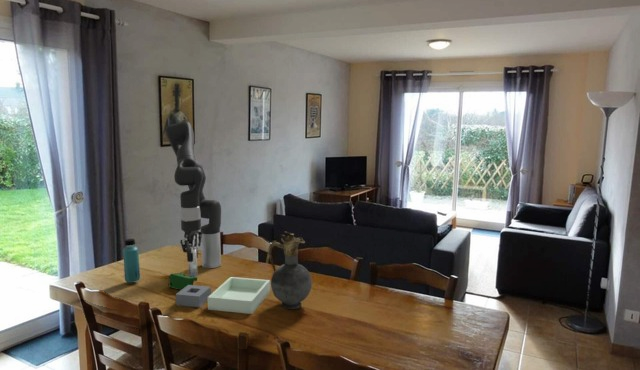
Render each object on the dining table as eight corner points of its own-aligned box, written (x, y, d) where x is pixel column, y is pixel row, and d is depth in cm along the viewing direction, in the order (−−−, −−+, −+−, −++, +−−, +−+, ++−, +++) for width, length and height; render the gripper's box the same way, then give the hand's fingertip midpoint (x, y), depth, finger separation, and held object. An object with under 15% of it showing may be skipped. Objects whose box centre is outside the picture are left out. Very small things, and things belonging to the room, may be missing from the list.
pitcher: (299, 315, 162) (299, 238, 157) (260, 303, 172) (259, 230, 167) (315, 305, 171) (316, 231, 166) (277, 294, 181) (277, 224, 176)
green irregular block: (192, 297, 188) (201, 279, 187) (182, 298, 183) (191, 280, 182) (176, 281, 194) (184, 264, 193) (165, 282, 189) (174, 265, 187)
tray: (230, 287, 188) (230, 276, 187) (270, 291, 184) (270, 280, 183) (207, 309, 166) (207, 297, 166) (252, 313, 163) (251, 301, 162)
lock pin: (191, 274, 174) (190, 245, 172) (198, 274, 174) (197, 246, 172) (187, 276, 171) (186, 247, 169) (195, 277, 171) (193, 248, 169)
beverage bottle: (136, 285, 189) (134, 241, 186) (121, 285, 190) (119, 241, 186) (143, 280, 196) (140, 237, 193) (128, 280, 196) (126, 237, 193)
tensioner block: (188, 295, 180) (188, 284, 179) (211, 297, 178) (210, 286, 177) (176, 305, 170) (175, 294, 169) (199, 307, 168) (199, 296, 167)
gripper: (190, 213, 176) (192, 254, 179) (172, 221, 163) (174, 265, 165) (207, 214, 175) (209, 255, 177) (190, 222, 161) (192, 266, 164)
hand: (192, 259), depth 171 cm, fingers closed on lock pin, 3 cm apart
